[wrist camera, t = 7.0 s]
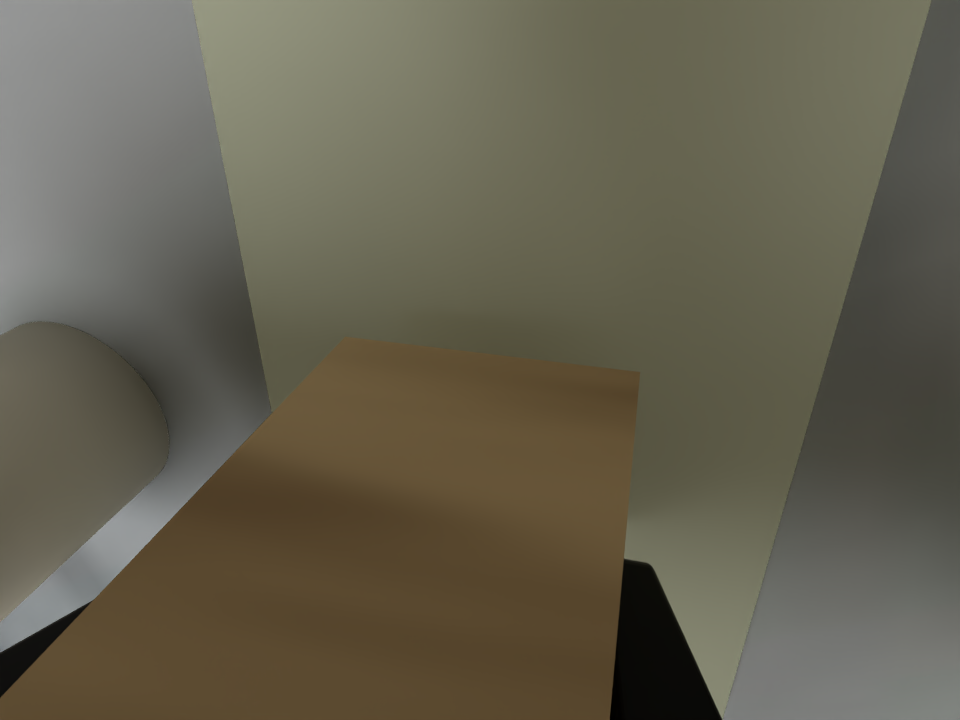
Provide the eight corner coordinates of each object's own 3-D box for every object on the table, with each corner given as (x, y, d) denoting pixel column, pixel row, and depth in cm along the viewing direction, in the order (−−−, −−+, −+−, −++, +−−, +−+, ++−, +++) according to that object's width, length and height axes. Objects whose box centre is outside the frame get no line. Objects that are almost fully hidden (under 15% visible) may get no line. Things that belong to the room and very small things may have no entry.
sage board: (716, 696, 14) (718, 732, 13) (330, 611, 16) (315, 638, 15) (935, -98, 7) (962, -106, 6) (213, -74, 9) (176, -79, 8)
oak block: (610, 594, 10) (547, 1197, 5) (370, 547, 11) (112, 1019, 6) (639, 371, 8) (584, 987, 3) (345, 336, 9) (-70, 769, 4)
